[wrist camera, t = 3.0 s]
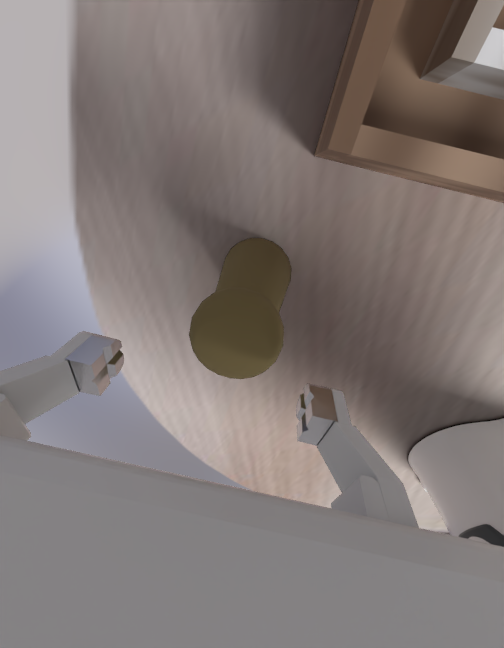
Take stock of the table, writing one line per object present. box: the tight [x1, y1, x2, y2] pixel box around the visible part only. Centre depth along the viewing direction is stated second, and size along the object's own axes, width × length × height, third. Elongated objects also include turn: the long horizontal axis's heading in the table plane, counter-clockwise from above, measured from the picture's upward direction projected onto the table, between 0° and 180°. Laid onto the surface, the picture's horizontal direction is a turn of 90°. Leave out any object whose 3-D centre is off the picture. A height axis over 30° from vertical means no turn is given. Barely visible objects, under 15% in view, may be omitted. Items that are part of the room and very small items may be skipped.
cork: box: [189, 238, 291, 379], centre depth 16 cm, size 6×6×11 cm
